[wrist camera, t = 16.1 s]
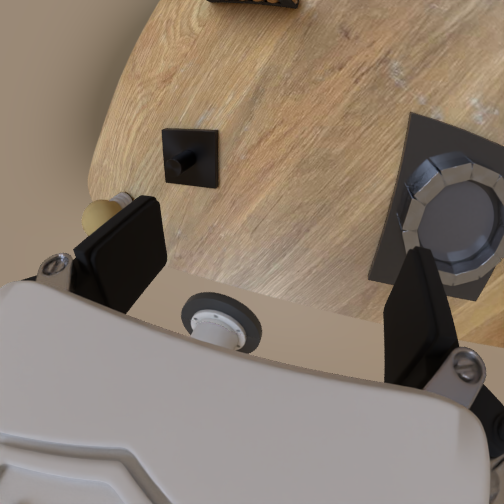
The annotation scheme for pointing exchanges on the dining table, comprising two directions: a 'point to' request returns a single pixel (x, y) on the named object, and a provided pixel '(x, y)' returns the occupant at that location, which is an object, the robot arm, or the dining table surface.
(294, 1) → the ammunition clip
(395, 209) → the hob plate
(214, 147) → the ring stand
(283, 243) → the dining table surface
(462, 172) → the steel ring
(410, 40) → the dining table surface
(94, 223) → the light bulb
